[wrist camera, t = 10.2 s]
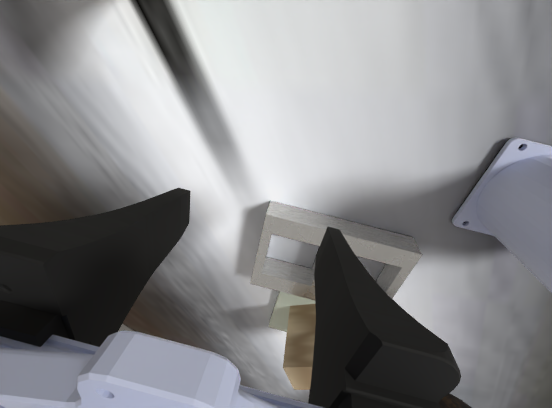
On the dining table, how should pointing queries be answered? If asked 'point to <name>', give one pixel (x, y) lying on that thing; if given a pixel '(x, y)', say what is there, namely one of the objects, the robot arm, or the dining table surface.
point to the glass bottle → (452, 402)
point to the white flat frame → (311, 229)
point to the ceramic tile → (285, 309)
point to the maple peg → (300, 345)
